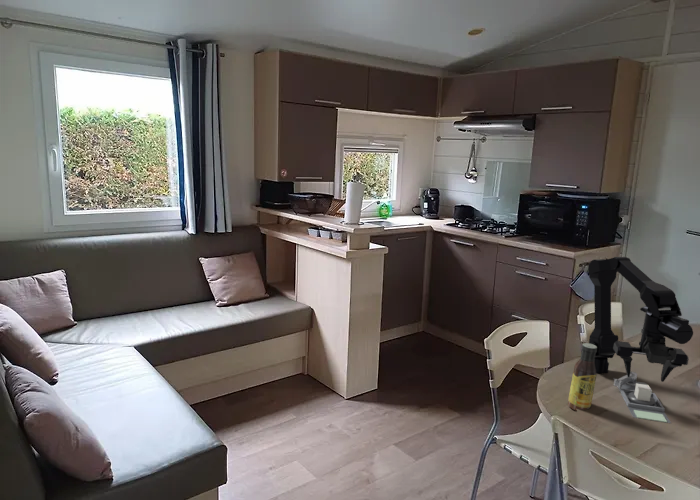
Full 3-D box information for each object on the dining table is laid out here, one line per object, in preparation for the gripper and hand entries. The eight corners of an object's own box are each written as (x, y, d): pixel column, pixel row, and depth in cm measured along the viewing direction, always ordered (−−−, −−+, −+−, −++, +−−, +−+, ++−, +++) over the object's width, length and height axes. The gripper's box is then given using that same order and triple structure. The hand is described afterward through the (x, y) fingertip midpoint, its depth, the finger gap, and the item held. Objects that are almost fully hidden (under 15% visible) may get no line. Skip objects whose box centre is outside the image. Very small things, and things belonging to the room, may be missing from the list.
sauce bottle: (576, 414, 149) (586, 350, 145) (562, 403, 155) (571, 342, 150) (595, 412, 151) (605, 349, 146) (581, 401, 157) (590, 340, 152)
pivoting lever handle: (612, 387, 162) (613, 379, 161) (629, 379, 169) (630, 370, 168) (620, 391, 160) (621, 382, 159) (637, 382, 167) (638, 373, 166)
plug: (631, 405, 153) (634, 390, 152) (625, 393, 160) (628, 379, 159) (657, 408, 151) (660, 394, 150) (650, 397, 158) (653, 383, 157)
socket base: (632, 420, 147) (633, 414, 146) (612, 381, 170) (613, 375, 170) (670, 427, 144) (672, 419, 144) (645, 386, 168) (646, 380, 167)
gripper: (625, 336, 145) (617, 386, 149) (700, 345, 141) (689, 396, 144) (616, 322, 156) (608, 369, 159) (686, 330, 151) (676, 379, 155)
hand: (645, 378), depth 154 cm, fingers open, 9 cm apart
